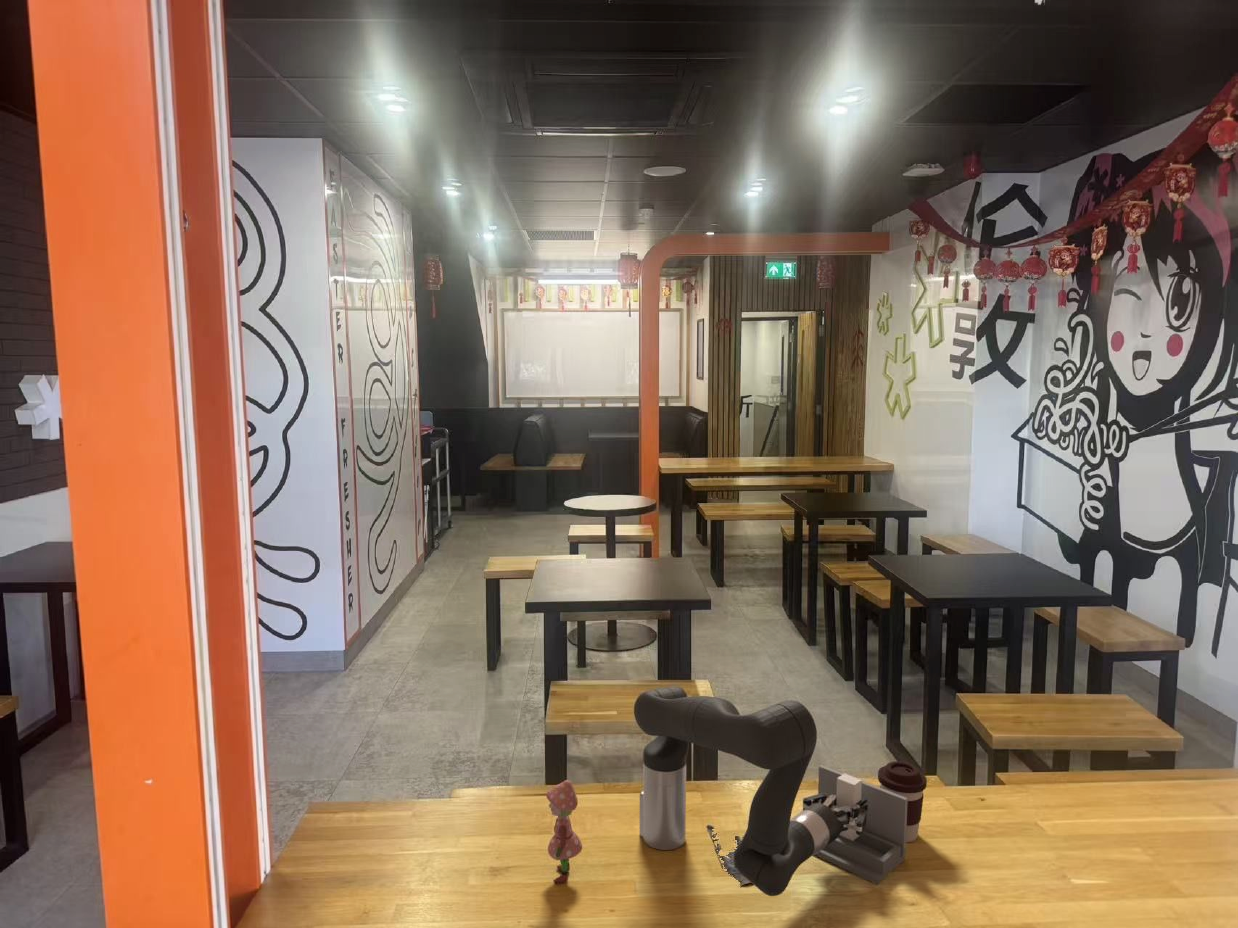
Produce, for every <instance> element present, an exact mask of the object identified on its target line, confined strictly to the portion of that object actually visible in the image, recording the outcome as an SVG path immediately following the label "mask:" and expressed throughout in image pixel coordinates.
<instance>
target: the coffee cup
mask: <svg viewBox="0 0 1238 928" xmlns="http://www.w3.org/2000/svg"><path fill="white" fill-rule="evenodd" d="M877 780H878V782H879V783H880V788H882V789H885V790H888V791H890V792H893V793H895V794H898V795H901V796H903V797H906V798H908V801H907V827H906V843H912V842H914V841H916V840H917V838H918V835H919V829H920V822H921V821H922V820H921V819H922V812H923V804H924V790H926V788H927V782H928V781H927V777H926V776H925V774H924V773H922V772H921V771H920V769H919V768H918V767H916V766H915V765H914V764H912V763H909V762H905V761H891V762H888V763H887V764H885V765H884V766H882V767H880V768H879V769H878V771H877Z"/></svg>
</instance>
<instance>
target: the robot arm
mask: <svg viewBox="0 0 1238 928" xmlns="http://www.w3.org/2000/svg"><path fill="white" fill-rule="evenodd" d="M633 715H634V719H635V722H636V723H637V726H638V727H639V728H640V729H641V731H642V732H643V733H645V734H646V735H648V736H651V737H654V736H655V737H656V738H654V739H653V740H652V741H650V742H649V743H648V744H646V746H645V747H644V748H643V751H642V752H643V753H642V791H641V792H639V836H641V837H642V839H643V841H644V843H645V844H646V845H647V846H649V847H650V848H652V849H656V850H660V851H661V850H662V851H672V850H675V849H677V848H680V847H682V846H683V845H684V843H685V842H686V832H687V831H686V830H687V829H686V828H687V825H686V824H687V823H686V821H687V820H686V819H687V814H686V813H687V756H688V755H689V754H688V753H689V751H690V750H689V748H690V744H694V745H697V746H700V747H703V748H707V749H710V750H714V751H715V750H716V751H719V752H722V753H725V754H729V755H731V756H734V757H737V758H739V759H741V760H744V761H746V762H748V763H750V764H752V765H753V766H756V767H758V768H761V769H764V770H768V773H767V774H766V776H765V777H764V779H763V780H762V782H761V783H760V785H759V787H758V788H757V790H756V792H755V794H754V796H753V798H752V801H751V804H750V808H749V814H748V821H747V828H746V830H745V833H744V835H743V837H742V839H741V842H740V844H739V845H738V847H737V849H736V851H735V853H734V863H735V866H736V868H737V870H738V871H739V872H740V873H741V874H742V875H743V876H744V877H746V878H747V879H748V880H749V881H750V882H751V884H752V885H754V886H755V888H757V889H758V890H759V891H761V892H762V894H764V895H766V896H769V897H777V896H779V895H782V893H784V892H785V890H786V889H787V888H788V886H789V884H790V882H791V880H792V877H793V876H794V874H795V872H796V871H797V870H798V868H799V867H800V866H801V865H802V864H803V863H805V862H806V861H807V860H808V859H810V858H811V857H814V856H816V855H815V854H817V853H819V852H820V851H821V850H823V849H824V848H825V847H827V846H828V845H829V844H831V843H832V842H833V841H834V840H836V839H837V838H838V836H839V835H840V833H841V832H842V831H847V830H848V829H852V830H856V834H857V835H862V834H863V831H864V828H865V825H866V815H867V810H868V802H867V799H864V798H863V799H861V800H860V801H859V802H858V803H856V804H855V805H853V806H848V805H846V806H843V807H841V808H839V807H837V806H836V797H837V794H835V795H830V796H827V794H826V793H820V794H818V793H816V794H814V795H810V796H806V797H804V798H802V810H801V811H800V812H799V813H797V814H796V815H794V816H793V817H792V811H793V808H794V804H795V801H796V797H797V796H798V793H799V789H800V786H801V784H802V782H803V779H804V777H805V774H806V772H807V769H808V766H809V765H810V762H811V759H812V757H813V755H814V752H815V748H816V745H817V739H818V732H817V726H816V723H815V720H814V718H813V716H812V714H811V713H810V711H809V710H808V708H807V707H806V706H805V705H803V703H801V702H799V701H797V700H793V699H792V700H785V701H781V702H779V703H778V702H777V703H776V704H773V705H770V706H768V707H765V708H763V709H759V710H758V711H755V712H753V713H748V714H740V712H739V709H738V708H737V707H736V706H735V705H734V703H732V702H731V701H728V700H727V699H724V698H721V697H716V696H710V695H693V696H688V694H687V692H686V691H685V690H684V689H683V688H682V687H680V686H677V685H673V686H667V687H666V686H665V687H660V688H655V689H650V690H646V691H644V692H642V693H640V694H639V696H637V698H636V700H635V702H634V705H633ZM820 799H821V802H820V803H819V800H820ZM853 812H854V814H853ZM854 820H855V821H854Z"/></svg>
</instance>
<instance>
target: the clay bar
mask: <svg viewBox="0 0 1238 928" xmlns="http://www.w3.org/2000/svg"><path fill="white" fill-rule="evenodd" d="M862 781H863V780H862V779H859V778H858V777H855V776H852V775H850V774H847V773H844V774H843V775H841V776H840V777H838V778H837V797H836V806H837V807H839V808H841V807H843V806H846V805H848V806H853V805H855V804H856V803H858V802H859V801H860V800H861V789H862ZM853 814H854V812H853ZM854 821H855V820H854ZM840 835H841V836H843V837H845V838H847V839H850V840H852V841H853V840H855V839H856V838H857V837H859V836H860V835H857V834H856V830H852V829H848V830H847V831H842V832H841V833H840Z"/></svg>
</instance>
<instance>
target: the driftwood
mask: <svg viewBox="0 0 1238 928" xmlns="http://www.w3.org/2000/svg"><path fill="white" fill-rule="evenodd" d="M705 827H706V829H707V831H708V833H709V834H710V838H711V839H712V837H713V838H715V837H716V835H717V833H716V834H713V835H712V832H714V831H713V830H712V829H714V828H715V826H713V825H711V824H707V825H706V826H705ZM718 840H719V839H715V840H714V841H718ZM735 840H737V845H739V844H740V842H741V841H742V839H741V838H740V835H739V836H735ZM735 843H736V842H735ZM721 847H722V846H721V845H720V843H717V847H715V846H714V850H715V852H716V854H717V853H719V851H720V850H721V849H722V850H723V847H722V848H721ZM737 847H738V846H737ZM737 847H736V848H737ZM733 849H734V848H733ZM716 850H718V851H716ZM734 850H735V851H736V849H734ZM735 851H734V852H729V854H728V855H726V856H728V857H729V858H730V859H729V858H727V857H725V856H720V855H718V854H717V858H718V859H719V858H722V859H721V860H723V861H724V863H721V862H720V866H721V865H724V867H725V868H724V869H727V871H725V872H728V874H730V875H733V876H732V878H733V877H734V878H735V879H736V880H738V881H737V882H738V883H739V882H740V883H739V887H741V886H744V885H746V884H750V883H751V882H750V881H749V880H748V879H747V878H746V877H744V876H743V875H742V874H741V873H740V872H739V871H738V870H737V868H736V866H735V863H734V853H735ZM718 856H719V857H718ZM728 874H727V875H728ZM734 878H733V879H734ZM735 879H734V880H735ZM736 880H735V881H736ZM751 884H752V883H751Z"/></svg>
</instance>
